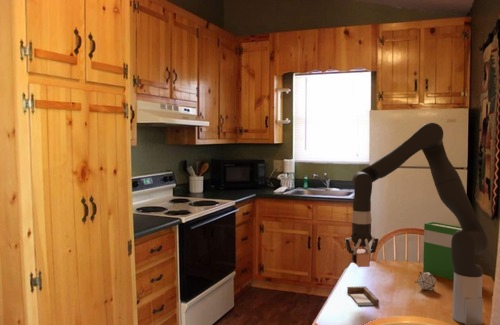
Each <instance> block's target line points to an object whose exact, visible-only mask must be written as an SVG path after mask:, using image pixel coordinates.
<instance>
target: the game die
mask: <svg viewBox="0 0 500 325" xmlns="http://www.w3.org/2000/svg"><path fill="white" fill-rule="evenodd" d="M429 272H430V271H428V272H426V273H425V272H421V271H419V275H418V276H419V277H418V279H417V280H416V281H414V283H415V284H417V285H419V286H420V287H421V289H422V290H423V292H426V291H429V290H432V291H434V290H435V289H434V288H435V287H436V286H435V285H436V283H437V281H439V278H436V277H435V275H432V274H430V273H429Z"/></svg>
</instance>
